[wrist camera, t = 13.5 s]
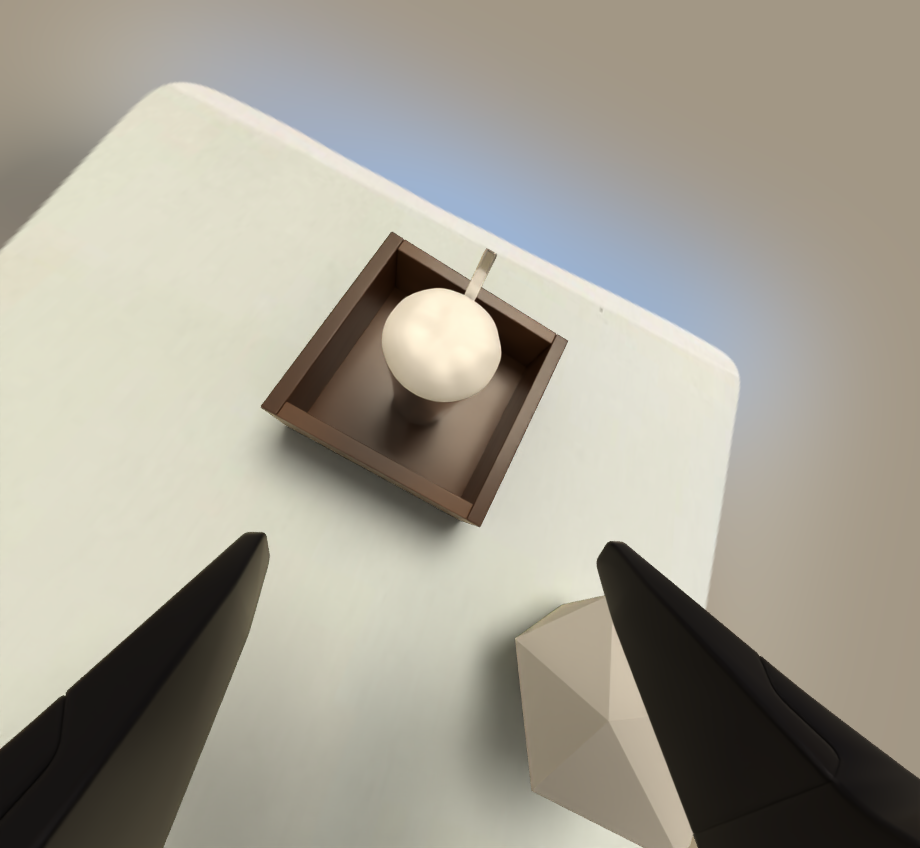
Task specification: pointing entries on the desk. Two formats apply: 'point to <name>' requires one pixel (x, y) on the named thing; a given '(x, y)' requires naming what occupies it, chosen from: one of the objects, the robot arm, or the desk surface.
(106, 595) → the desk surface
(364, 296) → the open box
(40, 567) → the desk surface
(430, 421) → the milkshake
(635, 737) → the die
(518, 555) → the desk surface
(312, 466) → the desk surface
